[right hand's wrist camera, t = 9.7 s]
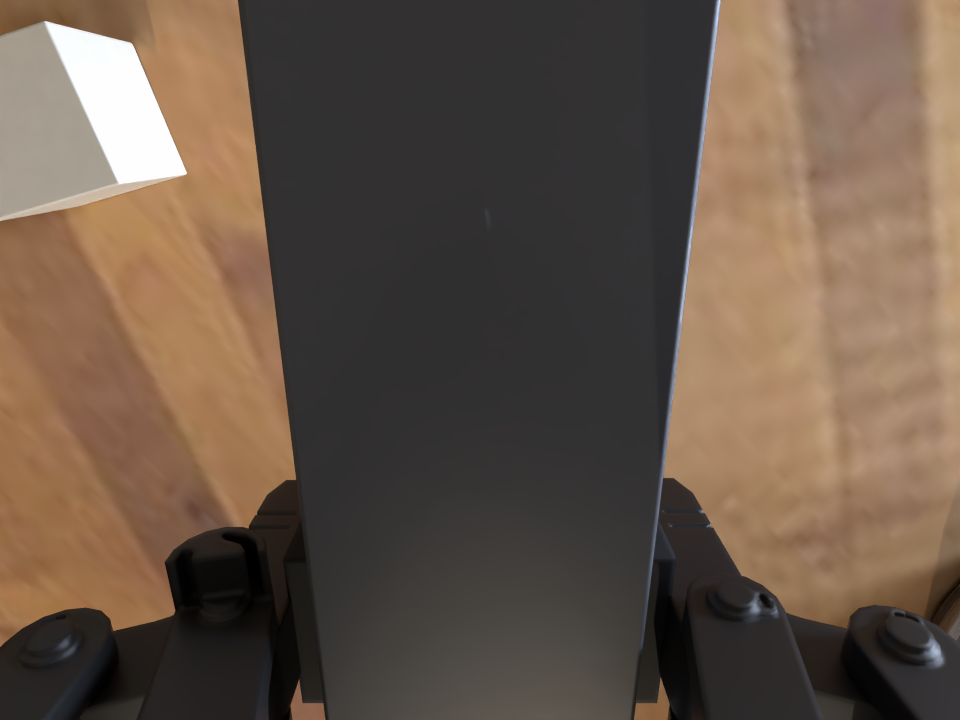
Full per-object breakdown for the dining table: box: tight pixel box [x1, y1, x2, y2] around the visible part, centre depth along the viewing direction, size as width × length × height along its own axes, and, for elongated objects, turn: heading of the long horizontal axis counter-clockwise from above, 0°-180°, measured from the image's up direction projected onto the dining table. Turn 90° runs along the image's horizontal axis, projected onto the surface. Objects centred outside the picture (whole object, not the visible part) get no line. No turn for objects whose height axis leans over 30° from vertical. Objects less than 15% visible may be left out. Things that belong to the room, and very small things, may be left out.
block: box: [0, 21, 186, 221], centre depth 22 cm, size 5×5×5 cm
